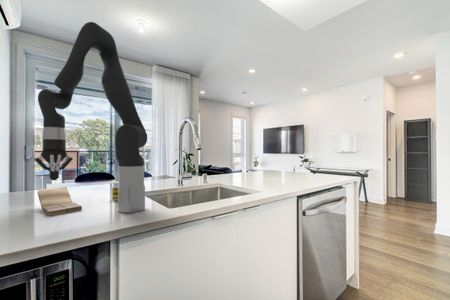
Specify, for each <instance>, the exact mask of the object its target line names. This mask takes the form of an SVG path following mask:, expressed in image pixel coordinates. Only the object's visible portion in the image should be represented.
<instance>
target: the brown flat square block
mask: <svg viewBox="0 0 450 300" xmlns="http://www.w3.org/2000/svg"><path fill="white" fill-rule="evenodd" d="M82 209H83V207H82V205H80V204H78V203H76V202H73V201H72V202H71V203H65V204H59V205H53V206H47V207H43V210H42V212H43V213H44V214H46V215H47V216H49V217H54V216H58V215H59V216H60V215H65V214H69V213H74V212H79V211H82Z"/></svg>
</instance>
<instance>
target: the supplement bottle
mask: <svg viewBox="0 0 450 300" xmlns="http://www.w3.org/2000/svg"><path fill="white" fill-rule="evenodd" d="M112 183H113V184H112V185H113V186H112V188H111V191H112V192H111V193H112V194H111V200H112V201H115V202H116V201H118V181H113V182H112Z"/></svg>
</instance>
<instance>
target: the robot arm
mask: <svg viewBox="0 0 450 300" xmlns="http://www.w3.org/2000/svg"><path fill="white" fill-rule="evenodd" d="M91 50H94V51H96V52H97V54H99V57H100V59H101V62H102V65H103V66H102V67H103V69H102V72H101V76H100V79H101V80H100V83H101V86H102V90H103V92H104V95H105V98H106V100H107V101H108V103H109V104H110V106H111V107H112V108H113V109H114V111H115V112H116V114H117V115H118V116H119V118H120V121H121V122H122V125H120V126H119V127H118V128H117V130H116V132H115V139H114V141H115V143H114V144H115V159H116V160H117V164H118V166H117V167H118V168H117V169H118V172H117V175H118V176H117V177H118V178H117V180H118V200H117V201H118V202H117V203H118V205H117V209H118V210H117V211H118V212H119V213H124V214H133V213H136V212H140V211H145V210H146V186H145V159H144V158H143V157H142V156H141V153H140V149H141V148H143V147H145V146H146V144H147V141H148V132H147V131H146V129H145V126H144V124H143V123H142V121H141V117H140V116H139V114H138V112H137V109H136V105H135V102H134V101H135V100H134V99H133V96H132V93H131V90H130V87H129V83H128V81H127V79H126V76H125V73H124V70H123V67H122V64H121V62H120V58H119V52H118V49H117V44H116V40H115V39H114V37H113V36H112V34H111V33H110V32H109V31H107V30H106V29H105V28H103V27H102V26H101V25H100V24H98V23H96V22H93V21H88V22H86V23H84V24H83V26H82V27H81V28H80V30H79V32H78V34H77V37H76V39H75V41H74V43H73V46H72V48H71V51H70V54H69V56H68V58H67V60H66V62H65V65H63V68H61V70H60V71H59V73H58V75H57V76H56V77H55V79H54V85H55V86H56V87H57V88H58V89H60V91H55V90H52V89H49V88H44V89H42V90H40V91H39V93H38V95H37V101H38V105H39V109H40V111H41V114H42V118H43V119H42V120H43V129H42V135H41V136H42V137H41V139H42V147H41V149H42V150H41V153H40V155H39V156H37V157H34V158H33V161H35V162H36V163H37V164H38V166H39V167H41V168H42V169H43V170H45V171H48V172H49V173H48V174H49V176H48V177H49V179H50V180H51V181H57V180H58V179H59V178H60V170H64V169H66V167H67V166H68V165H69V164H70V163H71V162H72V161H73V157H70V156H69V155H68V154H67V151H66V149H67V147H66V143H67V142H66V141H67V138H66V118H65V115H63V114H60V113H59V112H58V111H57V110H65V109H67V108H68V107H69V106H70V105H71V103H72V99H73V96H74V91H75V89H76V88H77V87H78V85H79V84H80V82H81V81H82V80H83V77H84V74H85V73H84V72H85V60H86V57H87V55H88V54H89V51H91ZM44 160H45V162H47V165H48V166H47V165H46V164H45V163H44V162H43V161H44Z"/></svg>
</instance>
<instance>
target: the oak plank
mask: <svg viewBox="0 0 450 300" xmlns="http://www.w3.org/2000/svg"><path fill="white" fill-rule="evenodd" d="M37 197H38V200H39V203H40V208H41V210H42V211H43V207H47V206H53V205H59V204H65V203H71V202H73V200H72V198H71V194H70V193H69V189H68V188H67V186H65V187H64V186H63V187H54V188H47V189H38V190H37Z"/></svg>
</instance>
